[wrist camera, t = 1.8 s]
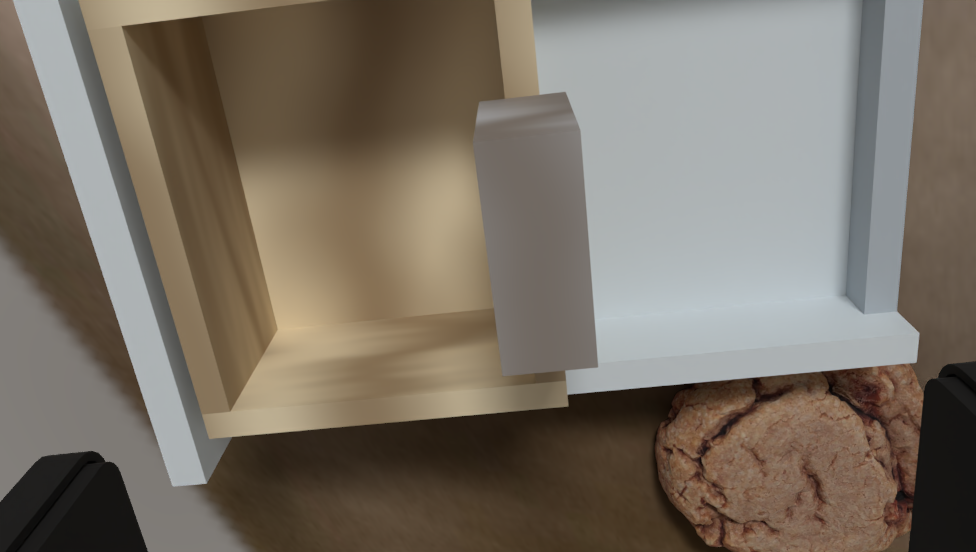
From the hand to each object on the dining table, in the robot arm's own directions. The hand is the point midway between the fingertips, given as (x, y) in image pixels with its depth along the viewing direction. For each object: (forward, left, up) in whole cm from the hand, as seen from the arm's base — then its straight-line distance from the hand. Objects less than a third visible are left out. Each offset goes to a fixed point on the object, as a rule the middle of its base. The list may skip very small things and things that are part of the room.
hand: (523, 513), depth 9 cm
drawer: (+4, 0, -17) cm, 17 cm away
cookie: (-9, +13, -19) cm, 24 cm away
